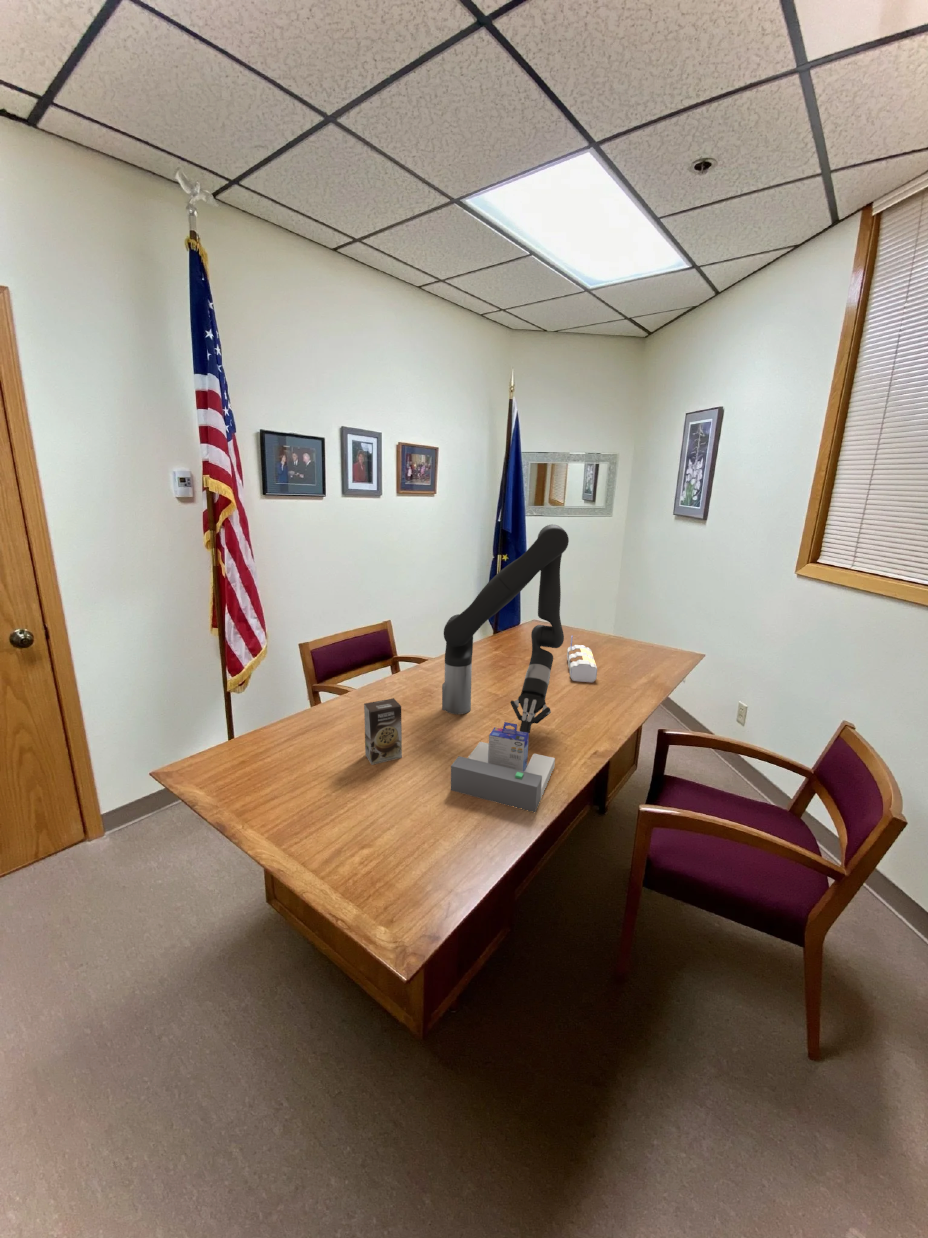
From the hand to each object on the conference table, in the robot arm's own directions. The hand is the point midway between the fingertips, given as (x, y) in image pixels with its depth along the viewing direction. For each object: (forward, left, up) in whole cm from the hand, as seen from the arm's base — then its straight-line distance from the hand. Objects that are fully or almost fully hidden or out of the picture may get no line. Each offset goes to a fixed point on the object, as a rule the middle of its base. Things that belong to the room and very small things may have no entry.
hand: (523, 734), depth 143 cm
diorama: (+5, +71, -4) cm, 72 cm away
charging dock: (0, -18, -4) cm, 19 cm away
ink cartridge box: (0, -16, -4) cm, 17 cm away
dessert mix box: (-35, -22, -4) cm, 41 cm away
